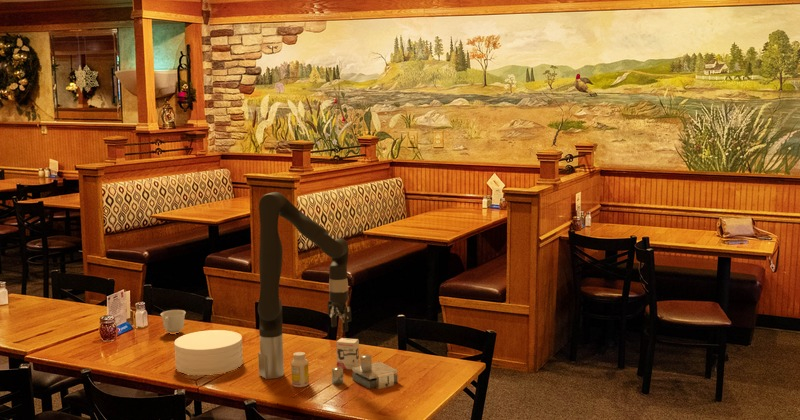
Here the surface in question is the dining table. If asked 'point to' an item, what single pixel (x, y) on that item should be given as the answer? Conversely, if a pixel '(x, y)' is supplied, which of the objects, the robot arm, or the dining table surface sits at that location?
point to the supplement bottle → (299, 370)
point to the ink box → (347, 353)
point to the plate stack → (208, 352)
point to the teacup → (173, 320)
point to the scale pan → (375, 370)
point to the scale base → (376, 380)
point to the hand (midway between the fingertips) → (339, 329)
